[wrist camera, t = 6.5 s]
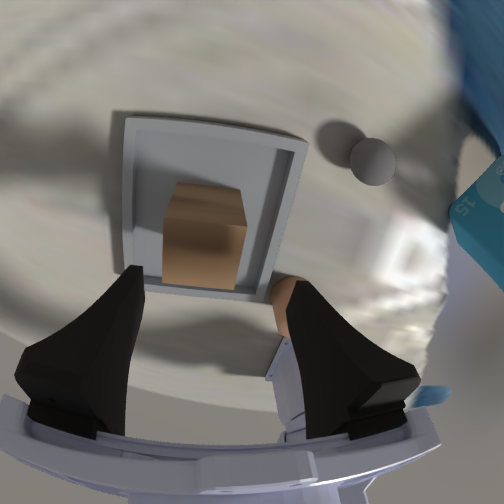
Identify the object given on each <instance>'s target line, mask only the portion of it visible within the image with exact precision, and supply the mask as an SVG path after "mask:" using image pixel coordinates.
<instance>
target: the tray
mask: <svg viewBox="0 0 504 504" xmlns="http://www.w3.org/2000/svg"><path fill="white" fill-rule="evenodd" d="M308 146H309V143H308V142H307V141H305V140H304V139H301V138H297V137H293V136H288V135H284V134H279V133H274V132H269V131H264V130H259V129H253V128H248V127H242V126H236V125H229V124H223V123H216V122H208V121H200V120H191V119H181V118H170V117H157V116H139V115H132V116H129V117H127V118H126V119H125V130H124V143H123V160H122V236H123V254H124V268H125V270H126V269H127V267H128V266H129V265H138V266H143V274H144V291H149V292H157V293H166V294H175V295H184V296H194V297H204V298H215V299H227V300H239V301H252V302H263V300H264V297H265V293H266V290H267V287H268V284H269V281H270V277H271V274H272V271H273V268H274V264H275V261H276V258H277V254H278V251H279V248H280V244H281V241H282V238H283V234H284V231H285V228H286V224H287V221H288V217H289V214H290V210H291V207H292V203H293V200H294V196H295V193H296V189H297V186H298V182H299V179H300V175H301V172H302V168H303V164H304V161H305V157H306V154H307V150H308ZM177 182H181V183H190V184H199V185H208V186H216V187H223V188H231V189H238V190H240V191H241V196H242V201H243V206H244V211H245V216H246V221H247V226H248V227H247V232H246V237H245V241H244V246H243V250H242V255H241V260H240V264H239V269H238V273H237V278H236V283H235V287H234V290H228V289H217V288H206V287H196V286H186V285H177V284H168V283H162V248H163V223H164V215H165V213H166V210H167V207H168V204H169V202H170V199H171V197H172V194H173V191H174V189H175V186H176V184H177Z"/></svg>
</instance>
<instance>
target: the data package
mask: <svg viewBox="0 0 504 504" xmlns="http://www.w3.org/2000/svg"><path fill="white" fill-rule="evenodd" d="M449 216H450V219H451V222H452V225H453V228H454V232H455V236H456V239H457V242H458V244H459V245H460V246H461V247H462V248H463V249H464V250H465V251H466V252H467V253H468V254H469V255H470V256H471V257H472V258H473V259H474V260H475V261H476V262H477V263H478V264H479V265H480V266H481V267H482V268H483V269H484V270H485V271H486V273H487V274H488V275H489V276H490V277H491V278H492V279H493V280H494V281H495V282H496V284H497V285H498V286H499V287H500V288H501V289H502V290H503V291H504V155H503V156H500V157H498V158H497V159H496V160H495V161H494V162H493V164H491V166H490V167H489V168H488V169H487V170H486V171H485V172H484V173H483V174H482V175H481V176H480V177H479V178H478V179H477V180H476V181H475V182H474V184H472V185H471V186H470V187H469V188H468V189H467V190H466V191H465V192H464V193H463V194H462V195H461V196H460V197H459V198H458V199H457V200H456V201H455V202H454V203H453V204H452V205H451V207H450V210H449Z"/></svg>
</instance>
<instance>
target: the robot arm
mask: <svg viewBox="0 0 504 504" xmlns="http://www.w3.org/2000/svg"><path fill="white" fill-rule="evenodd" d="M144 303H145V291H144V274H143V266H138V265H129V266H128V267H127V269H126V270H125V271H124V272H123V273H122V274H121V275H120V277H119V278H118V279H117V280H116V281H115V282H114V283H113V284H112V285H111V287H110V288H109V289H108V290H107V291H106V292H105V293H104V294H103V295H102V296H101V297H100V298H99V299H98V300H97V301H96V302H95V303H94V304H93V305H92V306H91V307H89V308H88V309H87V310H86V311H85V312H84V313H82V314H81V315H80V316H79V317H78V318H76V319H75V320H74V321H72V322H71V323H69V324H68V325H67V326H65V327H64V328H62V329H61V330H59V331H57V332H56V333H54V334H52V335H51V336H49V337H47V338H45V339H43V340H41V341H39V342H37V343H35V344H33V345H31V346H29V347H26V348H25V350H24V352H23V354H22V356H21V359H20V361H19V364H18V366H17V369H16V372H15V374H14V376H15V379H16V381H17V383H18V384H19V385H20V387H21V388H22V389H23V390H24V392H25V393H26V394H27V395H28V396H29V398H30V399H31V401H30V405H28V404H26V403H25V402H23V401H21V400H18V399H16V398H13V397H11V396H9V395H7V394H3V396H2V399H1V402H0V449H1V450H2V451H4V452H5V453H7V454H8V455H10V456H12V457H13V458H15V459H16V460H18V461H20V462H22V463H24V464H26V465H29V466H31V467H33V468H35V469H38V470H40V471H42V472H45V473H47V474H50V475H52V476H55V477H58V478H60V479H63V480H66V481H68V482H72V483H74V484H77V485H80V486H84V487H87V488H90V489H94V490H97V491H101V492H105V493H109V494H113V495H117V496H122V497H127V498H128V504H369V502H368V498H367V495H366V491H365V490H366V489H367V487H368V486H369V485H370V484H371V483H372V481H373V480H374V479H375V478H376V477H377V476H379V475H382V474H385V473H387V472H390V471H392V470H394V469H397V468H399V467H402V466H404V465H406V464H409V463H411V462H413V461H415V460H416V459H418V458H420V457H422V456H423V455H425V454H427V453H429V452H431V451H432V450H434V449H436V448H437V447H439V446H440V445H441V441H440V439H439V436H438V434H437V432H436V429H435V427H434V424H433V422H432V420H431V417H430V415H429V413H428V411H427V408H426V406H422V407H419V408H416V409H413V410H411V411H408V412H406V413H404V411H403V408H405V406H406V405H405V403H404V400H405V399H406V398H407V397H408V396H409V395H410V394H411V393H412V392H413V391H415V389H416V388H417V387H418V386H419V384H420V382H421V378H420V376H419V374H418V372H417V370H416V368H415V366H414V365H412V364H410V363H408V362H406V361H404V360H402V359H399V358H397V357H396V356H394V355H392V354H390V353H388V352H387V351H385V350H383V349H382V348H380V347H379V346H377V345H376V344H374V343H373V342H371V341H370V340H369V339H367V338H366V337H365V336H363V335H362V334H361V333H360V332H358V331H357V330H356V329H355V328H354V327H352V326H351V325H350V324H349V323H348V322H347V321H346V320H345V319H344V318H343V317H342V316H341V315H340V314H339V313H338V312H337V311H336V310H335V309H334V308H333V307H332V306H331V305H330V304H329V303H328V302H327V301H326V299H325V298H324V297H323V296H322V295H321V294H320V293H319V292H318V291H317V290H316V288H315V287H314V286H313V285H312V284H311V283H310V282H309V281H302V280H297V281H296V283H295V286H294V289H293V292H292V294H291V297H290V300H289V302H288V305H287V308H286V310H285V311H286V319H287V326H288V331H289V335H290V338H287V337H284V338H283V339H282V342H281V344H280V346H279V348H278V350H277V353H276V355H275V357H274V359H273V361H272V363H271V366H270V368H269V370H268V372H267V374H266V376H265V380H266V381H272V382H273V388H274V393H275V399H276V404H277V410H278V415H279V418H280V420H281V422H282V423H283V425H284V426H285V428H286V431H283V432H282V433H281V434H280V437H279V439H278V441H277V443H271V444H255V445H194V444H180V443H169V442H159V441H151V440H144V439H137V438H131V437H125V409H126V393H127V383H128V374H129V367H130V361H131V356H132V352H133V349H134V345H135V341H136V338H137V334H138V330H139V327H140V323H141V320H142V315H143V309H144Z"/></svg>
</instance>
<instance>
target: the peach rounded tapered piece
mask: <svg viewBox="0 0 504 504" xmlns="http://www.w3.org/2000/svg"><path fill="white" fill-rule="evenodd" d="M297 280H302V281H307V280H306V279H304V278H301V277H288V278H285V279H282V280H280V281H279V282H278V283H276V284H275V285H274V287H273V288H272V290H271V293H270V298H271V302H272V307H273V311H274V315H275V319H276V324H277V328H278V331H279V333H280V334H281V335H283V336H284V337H287V338H290V335H289V331H288V326H287V319H286V311H285V310H286V308H287V305H288V302H289V300H290V297H291V294H292V292H293V289H294V286H295V283H296V281H297Z"/></svg>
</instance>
